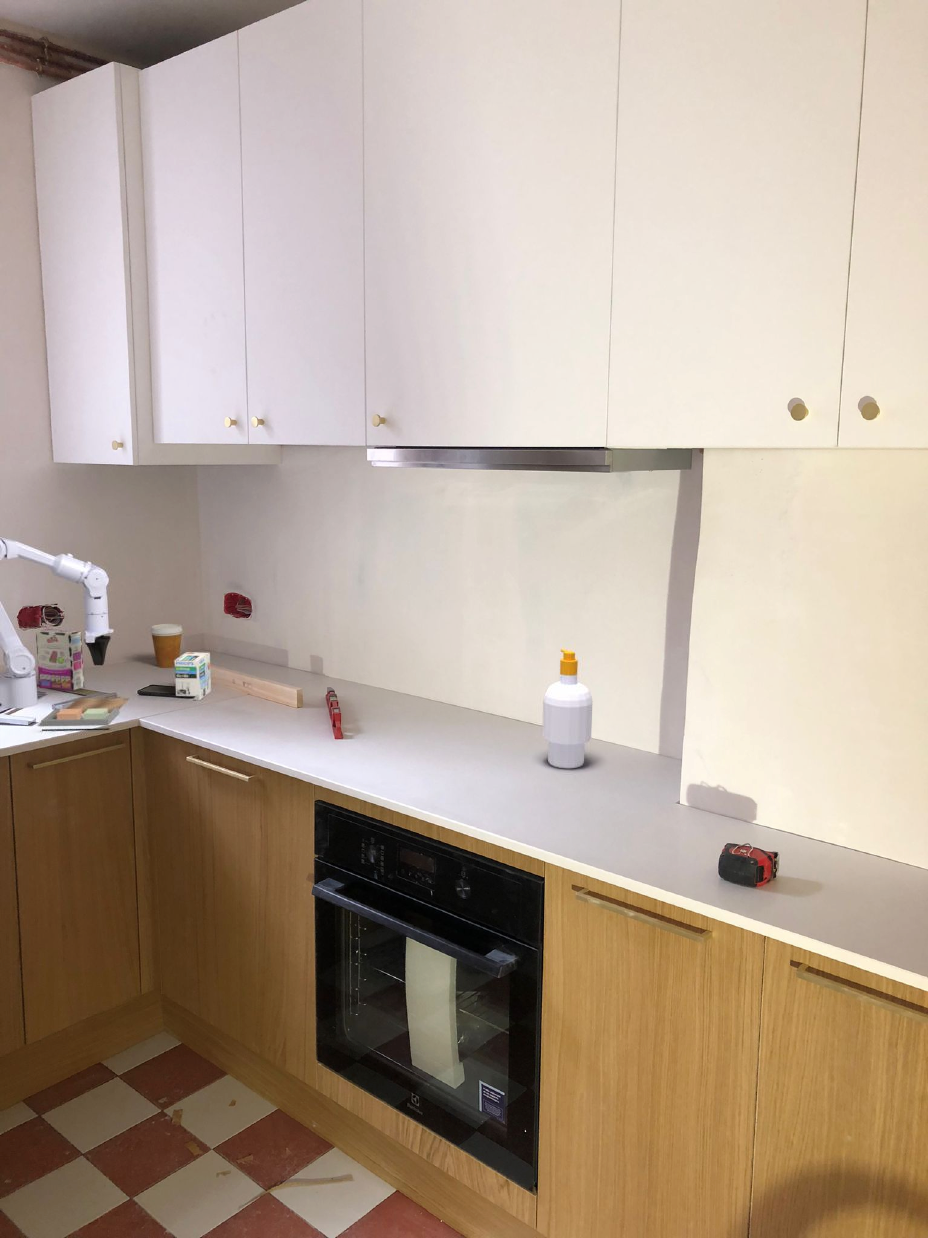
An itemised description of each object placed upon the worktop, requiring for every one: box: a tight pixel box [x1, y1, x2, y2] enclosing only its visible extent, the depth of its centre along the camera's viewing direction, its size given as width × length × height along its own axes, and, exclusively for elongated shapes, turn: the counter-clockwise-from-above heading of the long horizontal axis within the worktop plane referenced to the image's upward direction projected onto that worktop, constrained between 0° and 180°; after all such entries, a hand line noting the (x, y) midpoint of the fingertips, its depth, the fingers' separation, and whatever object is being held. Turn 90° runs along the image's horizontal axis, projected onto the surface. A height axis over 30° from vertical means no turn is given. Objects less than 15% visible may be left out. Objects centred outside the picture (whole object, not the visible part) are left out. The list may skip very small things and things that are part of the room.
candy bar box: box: [35, 628, 85, 691], centre depth 263 cm, size 11×5×16 cm, turn 73°
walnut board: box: [65, 697, 130, 715], centre depth 245 cm, size 13×14×1 cm
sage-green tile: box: [82, 708, 109, 719], centre depth 234 cm, size 4×4×2 cm
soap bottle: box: [541, 648, 593, 770], centre depth 206 cm, size 10×10×24 cm
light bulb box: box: [174, 651, 212, 701], centre depth 260 cm, size 11×7×11 cm, turn 179°
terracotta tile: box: [56, 708, 83, 719], centre depth 233 cm, size 4×4×2 cm
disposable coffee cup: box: [149, 623, 184, 669], centre depth 295 cm, size 10×10×12 cm
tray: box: [40, 708, 120, 732], centre depth 232 cm, size 15×10×2 cm
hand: (99, 664), depth 253 cm, fingers closed
